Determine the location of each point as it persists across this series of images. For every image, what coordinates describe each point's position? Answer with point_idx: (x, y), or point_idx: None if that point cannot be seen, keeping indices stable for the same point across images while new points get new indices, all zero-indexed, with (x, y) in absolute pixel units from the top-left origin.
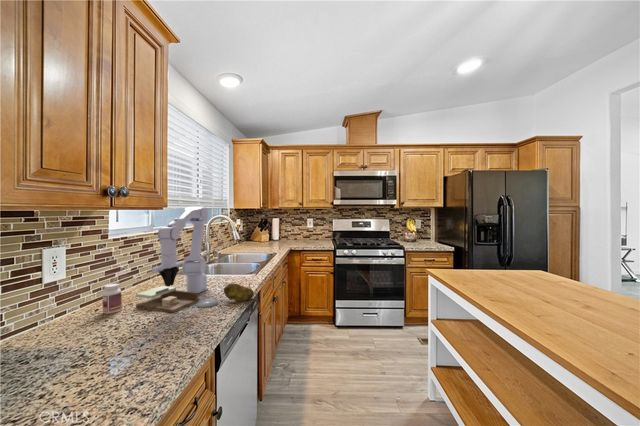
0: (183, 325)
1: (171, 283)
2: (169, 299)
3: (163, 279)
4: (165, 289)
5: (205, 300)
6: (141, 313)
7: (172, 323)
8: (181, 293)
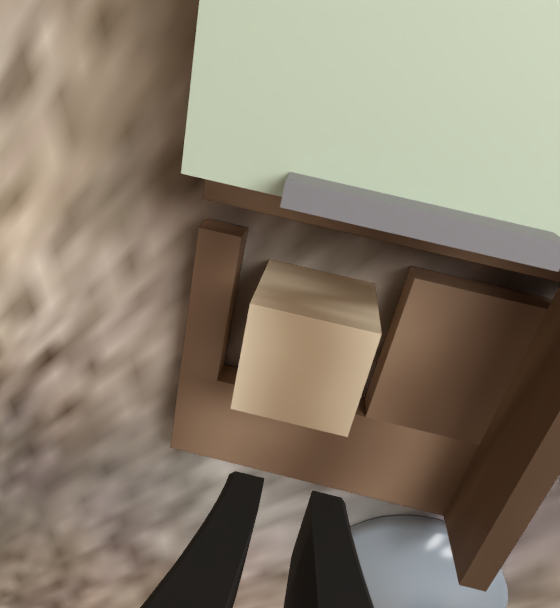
0: (26, 574)
1: (289, 580)
2: (251, 400)
3: (156, 593)
4: (480, 250)
5: (454, 573)
6: (93, 133)
7: (23, 512)
8: (551, 389)
